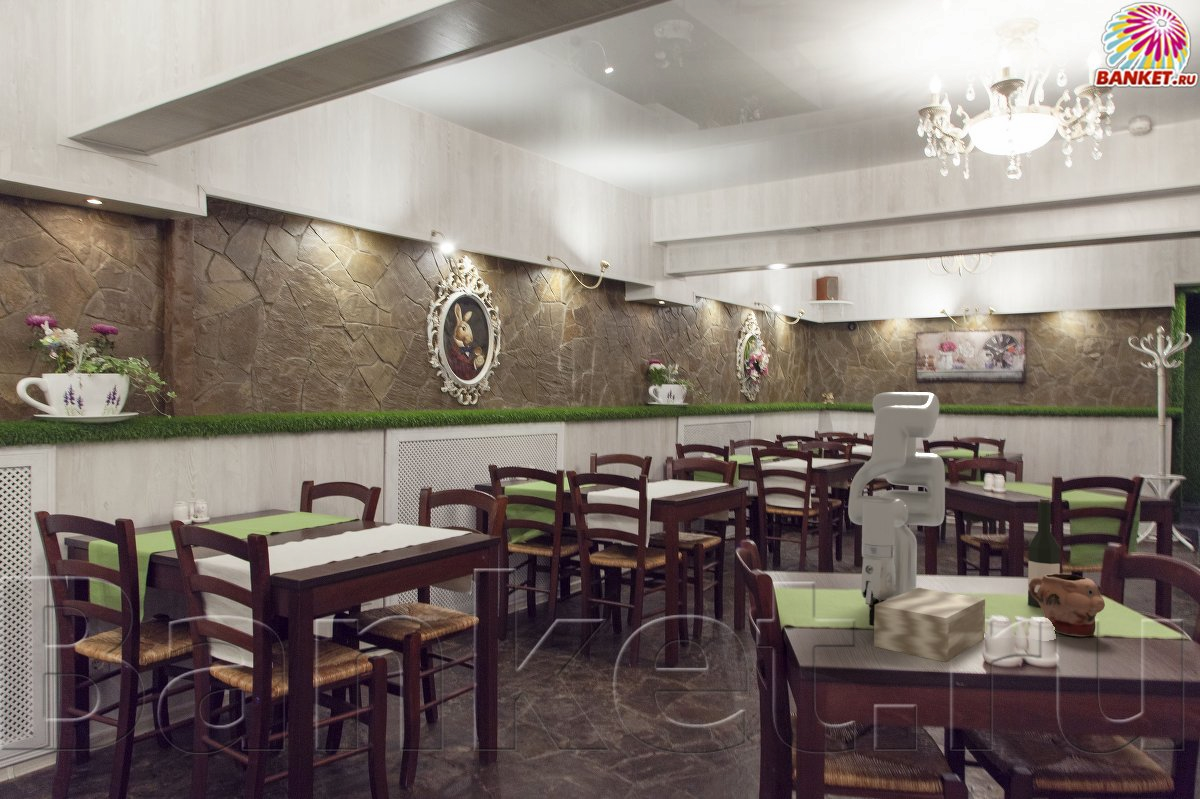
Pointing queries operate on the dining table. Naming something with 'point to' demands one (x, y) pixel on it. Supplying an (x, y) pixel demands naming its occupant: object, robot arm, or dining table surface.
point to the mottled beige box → (929, 623)
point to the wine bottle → (1042, 550)
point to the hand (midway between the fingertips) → (876, 625)
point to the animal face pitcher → (1068, 602)
